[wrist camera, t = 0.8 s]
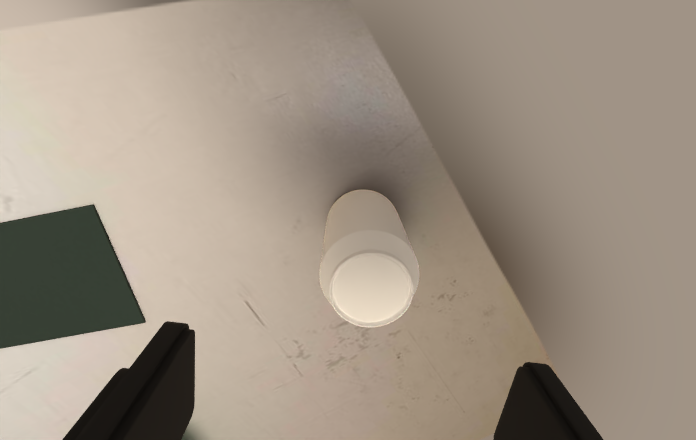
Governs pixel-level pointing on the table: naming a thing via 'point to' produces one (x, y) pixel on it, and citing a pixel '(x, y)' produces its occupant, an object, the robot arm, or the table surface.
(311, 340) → the table surface
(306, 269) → the table surface
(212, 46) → the table surface
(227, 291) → the table surface
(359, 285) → the beverage can
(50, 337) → the mat
